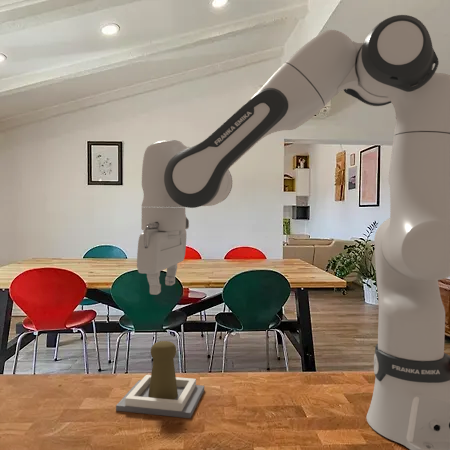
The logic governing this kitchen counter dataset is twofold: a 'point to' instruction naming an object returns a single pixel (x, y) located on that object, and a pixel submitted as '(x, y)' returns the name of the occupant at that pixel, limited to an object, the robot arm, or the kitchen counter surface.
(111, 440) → the kitchen counter surface
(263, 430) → the kitchen counter surface
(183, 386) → the notch board
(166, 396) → the olive knobbed peg
